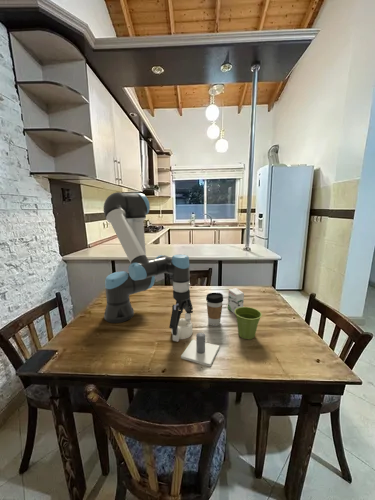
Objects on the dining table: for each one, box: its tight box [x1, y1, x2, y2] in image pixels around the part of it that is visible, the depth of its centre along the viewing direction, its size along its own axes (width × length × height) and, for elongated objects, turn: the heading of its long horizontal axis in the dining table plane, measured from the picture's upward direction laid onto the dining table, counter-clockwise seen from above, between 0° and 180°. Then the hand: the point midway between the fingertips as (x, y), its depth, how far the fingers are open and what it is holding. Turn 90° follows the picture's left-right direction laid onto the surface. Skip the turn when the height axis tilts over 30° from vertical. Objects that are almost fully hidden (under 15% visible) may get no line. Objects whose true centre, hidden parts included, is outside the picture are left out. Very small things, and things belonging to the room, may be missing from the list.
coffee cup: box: [205, 292, 224, 327], centre depth 115 cm, size 8×8×15 cm
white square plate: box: [180, 332, 220, 367], centre depth 92 cm, size 12×12×8 cm
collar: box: [170, 317, 193, 340], centre depth 107 cm, size 9×9×5 cm
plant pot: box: [234, 306, 263, 340], centre depth 104 cm, size 12×12×11 cm
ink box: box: [227, 287, 245, 315], centre depth 128 cm, size 9×5×12 cm, turn 23°
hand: (182, 332), depth 107 cm, fingers open, 13 cm apart
